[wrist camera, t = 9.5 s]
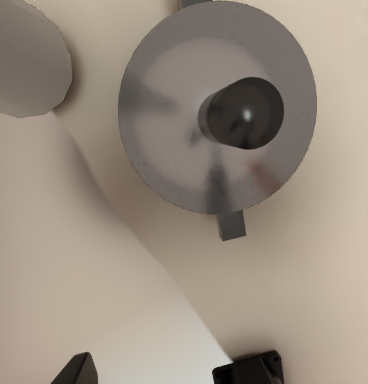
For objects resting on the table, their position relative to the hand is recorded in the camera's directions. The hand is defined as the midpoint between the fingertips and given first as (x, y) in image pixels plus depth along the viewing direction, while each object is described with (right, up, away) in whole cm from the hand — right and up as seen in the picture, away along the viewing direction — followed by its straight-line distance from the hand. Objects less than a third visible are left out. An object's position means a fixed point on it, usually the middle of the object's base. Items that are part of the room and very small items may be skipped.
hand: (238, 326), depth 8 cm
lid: (0, +8, +6) cm, 10 cm away
